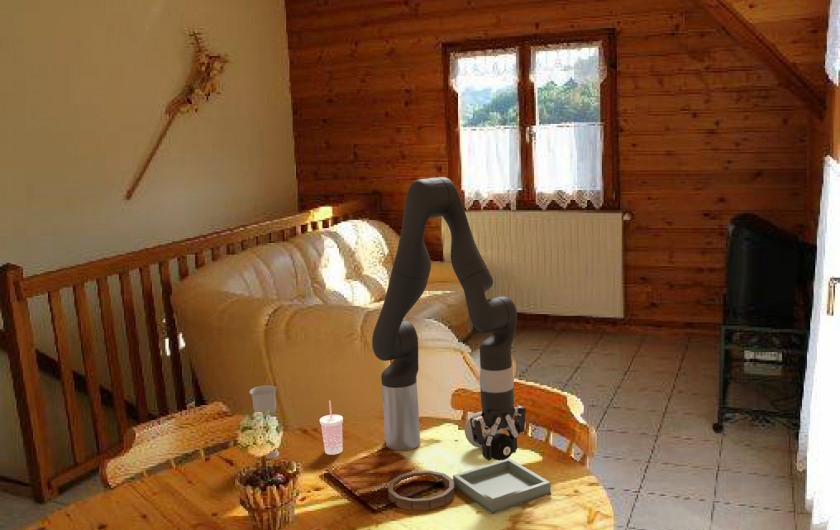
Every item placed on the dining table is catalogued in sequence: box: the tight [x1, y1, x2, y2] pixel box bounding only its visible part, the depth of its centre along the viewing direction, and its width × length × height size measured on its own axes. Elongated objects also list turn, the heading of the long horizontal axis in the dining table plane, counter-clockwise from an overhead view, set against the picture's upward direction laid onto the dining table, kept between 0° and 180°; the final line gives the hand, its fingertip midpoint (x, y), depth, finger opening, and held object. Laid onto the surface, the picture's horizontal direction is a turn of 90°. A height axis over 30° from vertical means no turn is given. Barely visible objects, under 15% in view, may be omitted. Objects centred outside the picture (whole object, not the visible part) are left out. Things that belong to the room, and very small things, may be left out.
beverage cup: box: [319, 400, 344, 456], centre depth 213 cm, size 6×6×14 cm
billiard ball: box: [490, 432, 513, 461], centre depth 185 cm, size 6×6×6 cm
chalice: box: [249, 384, 280, 460], centre depth 212 cm, size 7×7×18 cm
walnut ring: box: [387, 470, 455, 511], centre depth 187 cm, size 15×15×2 cm
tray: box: [452, 457, 552, 515], centre depth 187 cm, size 16×16×3 cm
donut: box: [464, 410, 504, 449], centre depth 210 cm, size 10×4×10 cm, turn 96°
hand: (500, 455), depth 185 cm, fingers closed on billiard ball, 6 cm apart
